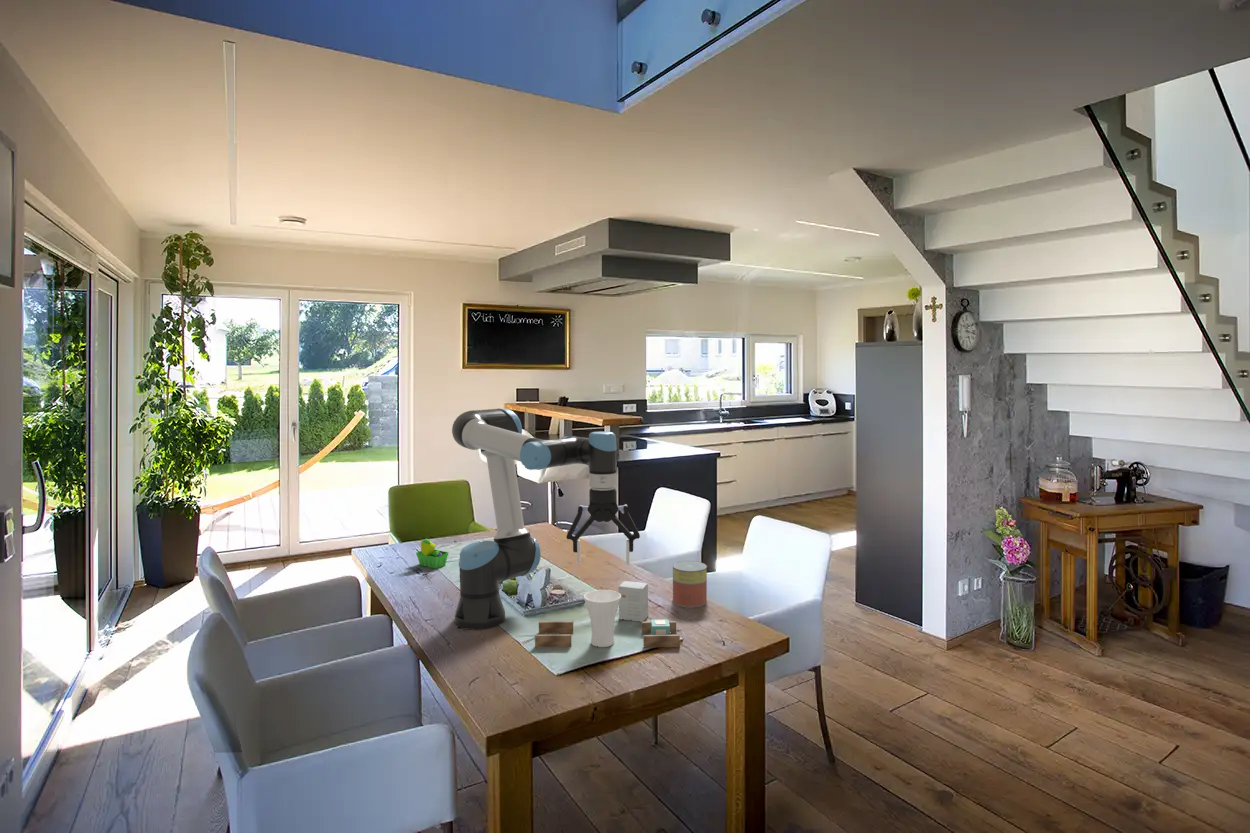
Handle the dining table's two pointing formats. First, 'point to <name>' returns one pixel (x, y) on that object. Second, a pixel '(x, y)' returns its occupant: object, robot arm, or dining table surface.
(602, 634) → the cup
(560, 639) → the caddy left
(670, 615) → the dining table surface
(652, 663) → the dining table surface
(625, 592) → the small box
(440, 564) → the fruit basket
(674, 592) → the canned food
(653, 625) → the letter cube
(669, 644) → the caddy right
